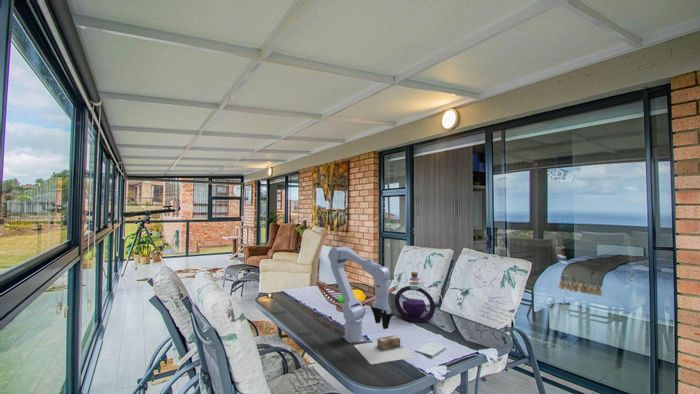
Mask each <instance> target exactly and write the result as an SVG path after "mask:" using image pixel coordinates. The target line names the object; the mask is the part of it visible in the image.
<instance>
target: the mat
mask: <svg viewBox="0 0 700 394" xmlns="http://www.w3.org/2000/svg"><path fill="white" fill-rule="evenodd" d="M353 346H354V347H355V349H356V350H357V351H358V352H359V353H360V354H361V356H363V357H364V359H365V360H366V361H367V362H368V363H369V364H370V365H376V364H380V363H382V364H383V363H388V362H394V361H400V360H406V359H412V358H416V356H415V355H414V354H413V353H411V352H410V350H408V349H406V348H405V347H404V346H403V345H401V344H400V347H396V348H392V349H388V350H381V349H380V348H378V347H377V341H375V342H367V343H359V344H354V345H353Z"/></svg>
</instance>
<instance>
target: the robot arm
mask: <svg viewBox="0 0 700 394" xmlns="http://www.w3.org/2000/svg"><path fill="white" fill-rule="evenodd" d="M327 257H328V259H329V261H330V270H331V271H332V274H333V277H334V279H335V282H336V284H337V286H338V287H337V288H338V290H339V292H340V295H341V297H342V300H343V302H344V303H343V305H342V312H343V313H342V314H343V319H344V320H345V322H344V335H342V338H343V339H344V340H345V341H347V343H349V344H352V343H359V342H360V343H361V342H366V340H365V339H364V338H363V320H364V317H365V315H366V309H365V307H364V306H363V304H362V302H361V301H360V300H359V299H357V298H356V296H355V294H354V291H353V288H352V287H351V284H350V281H349V279H348V276H347V274H346V271H345V268H344V266H345V264H346V262H347V261H348V260H349V261H352V262H353V263H355V264H357V265H358V266H361V270H362V271H364V272H365V273H367V274H369V275H370V276H372V278H373V280H374V300H372V306H371V307H370V309H371V311H372V313H373V318H374V322H375V324H380V323H381V324H382V329H383V330H386V329H389V326H390V322H391V320H392V317H393V316H394V312H392V309H391V307H390V305H389V279H390V277H391V274H392V273H391V270H390V268H388V267H387V266H386V265H385V266H384V265H383V266H382V265H381V264H379V263H377V262H375V261H374V260H373V259H372V258H366V259H365V257H364V258H363V257H362V256H361V255H359V254H358V253H356V252H355V251H354V250H353V249H352V248H351V247H349V246H347V245H344V246H337V247H331V248H330V250H329V251H328V254H327Z"/></svg>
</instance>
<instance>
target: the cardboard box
mask: <svg viewBox="0 0 700 394" xmlns="http://www.w3.org/2000/svg"><path fill="white" fill-rule="evenodd" d="M376 340H377V341H376V342H377V347H378V348H380V349H381V350H388V349H392V348H396V347H400V345H401V338H400V337H398V336H397V335H389V336H385V337H380V338H377V339H376Z"/></svg>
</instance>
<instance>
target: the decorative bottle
mask: <svg viewBox="0 0 700 394" xmlns="http://www.w3.org/2000/svg"><path fill="white" fill-rule="evenodd" d="M418 273H419V272H417V271H411V272H410V274H411V277H410V278H409V281H410V282H409V285H408V286H403V287H402V288H400V289H399V290H397V292H396V293H395V296H394V306H395V308H396V310H397V312H398V313H399V315H400V316H402V317H403V318H404V319H405V320H408V321H410V322H412V323H419V324H420V323H425V322H428V321H430V320H431V319H432V318H433V317H434V314H435V312H436V303H435V300H434V298H433V297H432V296H431V294H430V293H429V292H427V290H426V289H423V288H421V287H419V285H420V283H419V281H420V278H419V277H418V275H419V274H418ZM407 291H417V292H419V293H421V294H422V295H424V296H425V297H426V299H427V300H428V303H429V310H427V307H426V302H425V301H424V300H425V299H418V298H417V299H416V298H409V297H407V296H406V295H404V293H405V292H407ZM401 297H403V298H404V299H405V300H403V301H402V307H401V304H400V299H401ZM425 312H426V313H427V314H426V315H423V314H424V313H425Z"/></svg>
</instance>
